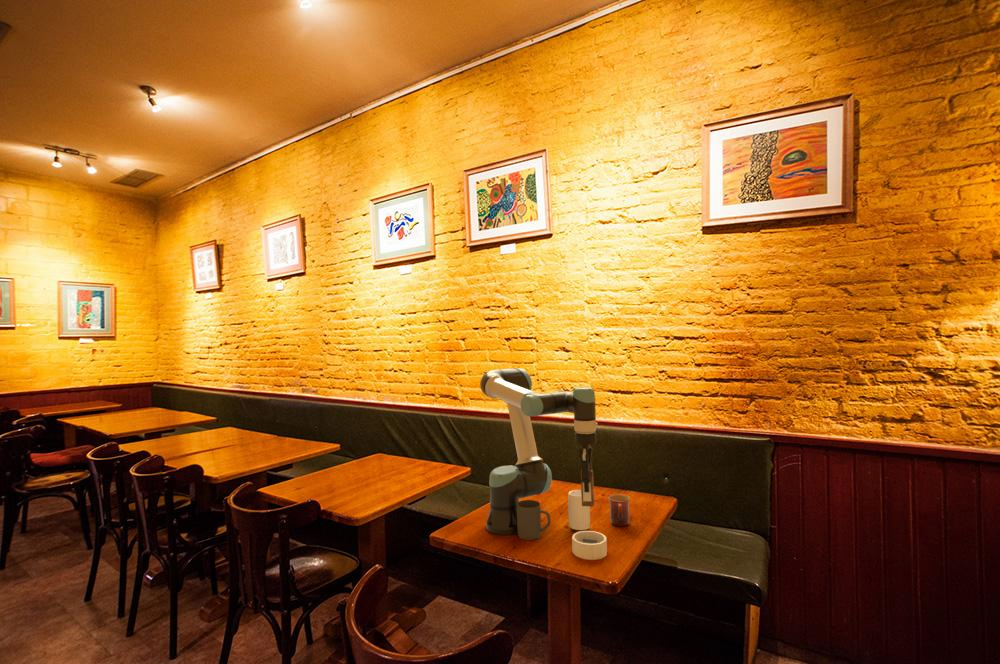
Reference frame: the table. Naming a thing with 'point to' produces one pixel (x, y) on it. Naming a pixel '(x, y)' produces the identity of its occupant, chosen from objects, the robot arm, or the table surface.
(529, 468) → the robot arm
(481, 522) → the table surface
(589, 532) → the white round bowl
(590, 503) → the tall brown wooden block
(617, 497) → the mug
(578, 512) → the cup
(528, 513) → the mug
